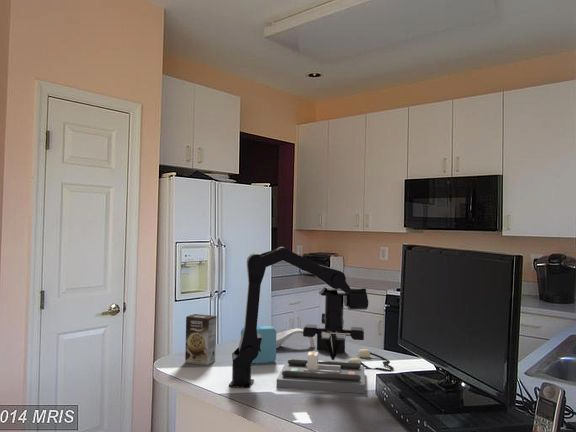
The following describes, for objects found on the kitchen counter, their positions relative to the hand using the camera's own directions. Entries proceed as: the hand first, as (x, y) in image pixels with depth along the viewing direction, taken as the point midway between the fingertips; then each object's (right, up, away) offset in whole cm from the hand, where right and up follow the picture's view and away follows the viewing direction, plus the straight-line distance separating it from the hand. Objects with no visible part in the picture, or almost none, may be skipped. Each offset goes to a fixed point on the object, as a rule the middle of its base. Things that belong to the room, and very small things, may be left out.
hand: (333, 359), depth 146 cm
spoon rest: (-16, -8, +40) cm, 44 cm away
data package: (-25, -7, +20) cm, 32 cm away
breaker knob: (-6, -4, +1) cm, 7 cm away
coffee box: (-45, -7, +19) cm, 49 cm away
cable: (+16, -8, +20) cm, 26 cm away
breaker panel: (-3, -7, 0) cm, 7 cm away
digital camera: (+3, -8, +35) cm, 36 cm away
